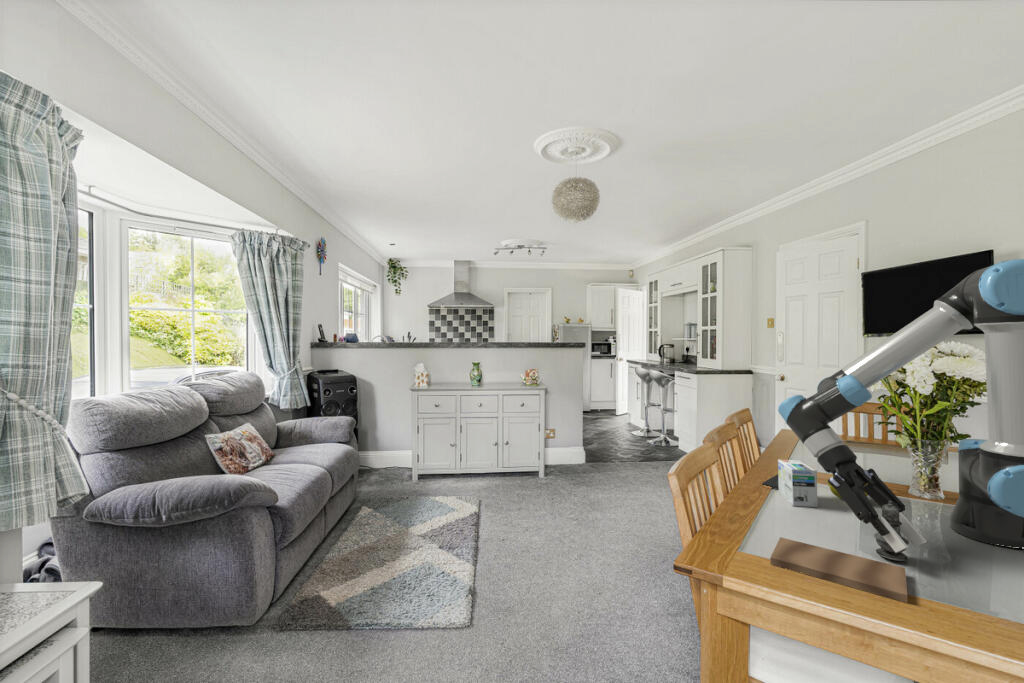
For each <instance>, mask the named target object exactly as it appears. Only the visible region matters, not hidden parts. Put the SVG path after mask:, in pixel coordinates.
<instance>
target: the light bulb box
mask: <svg viewBox="0 0 1024 683" xmlns="http://www.w3.org/2000/svg"><path fill="white" fill-rule="evenodd" d="M777 466H778V468H777V469H778V471H777V474H778V481H779V491H778V494H779V495H780V496H781V497H782V498H784V499H785V500H786V501H787V502H788V504H790V505H791V506H792V507H809V508H818V507H819V506H818V504H819V503H818V470H816V469H815V468H813V467H811V466H809V465H808V464H806V463H805V462H803V461H802V460H794V459H793V460H792V459H777Z"/></svg>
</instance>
